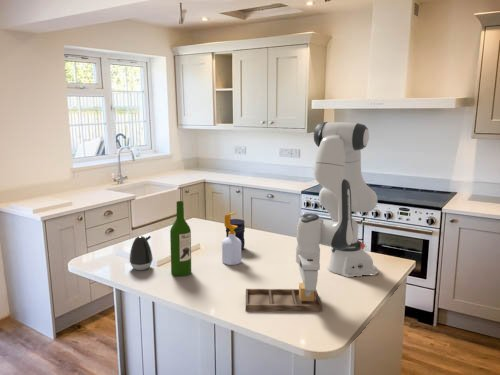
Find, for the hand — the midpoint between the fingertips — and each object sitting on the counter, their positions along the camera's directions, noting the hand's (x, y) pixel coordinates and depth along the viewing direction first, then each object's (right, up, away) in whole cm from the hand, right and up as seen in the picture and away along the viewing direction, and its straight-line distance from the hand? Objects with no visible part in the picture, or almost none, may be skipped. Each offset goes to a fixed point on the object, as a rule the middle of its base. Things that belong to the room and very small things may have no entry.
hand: (306, 291), depth 159 cm
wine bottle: (-52, +1, +28) cm, 59 cm away
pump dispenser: (-71, +2, +33) cm, 78 cm away
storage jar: (-29, +7, +61) cm, 68 cm away
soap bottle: (-30, +4, +42) cm, 52 cm away
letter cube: (0, -3, +1) cm, 2 cm away
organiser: (-9, -4, +1) cm, 10 cm away
